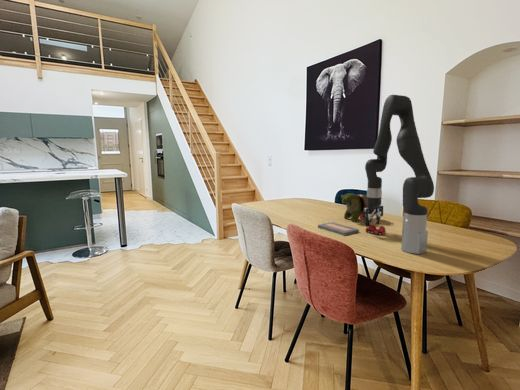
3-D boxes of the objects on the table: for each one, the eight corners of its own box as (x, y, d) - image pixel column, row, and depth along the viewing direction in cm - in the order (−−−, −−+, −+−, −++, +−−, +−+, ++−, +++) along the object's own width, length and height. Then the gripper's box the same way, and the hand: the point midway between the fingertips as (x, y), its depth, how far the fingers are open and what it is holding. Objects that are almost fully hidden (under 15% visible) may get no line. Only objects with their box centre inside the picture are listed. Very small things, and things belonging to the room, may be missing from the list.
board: (358, 232, 158) (358, 229, 157) (343, 235, 151) (343, 232, 151) (332, 224, 174) (332, 222, 174) (317, 227, 168) (317, 224, 168)
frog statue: (374, 228, 183) (343, 220, 174) (359, 221, 197) (330, 214, 189) (384, 200, 181) (353, 191, 172) (368, 196, 195) (338, 187, 187)
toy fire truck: (383, 235, 150) (384, 218, 149) (358, 231, 159) (359, 214, 158) (386, 234, 152) (387, 217, 151) (361, 230, 162) (362, 213, 160)
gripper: (371, 198, 146) (370, 228, 148) (388, 195, 153) (386, 224, 156) (359, 196, 152) (358, 225, 155) (376, 194, 160) (375, 222, 162)
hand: (372, 225), depth 155 cm, fingers open, 8 cm apart
